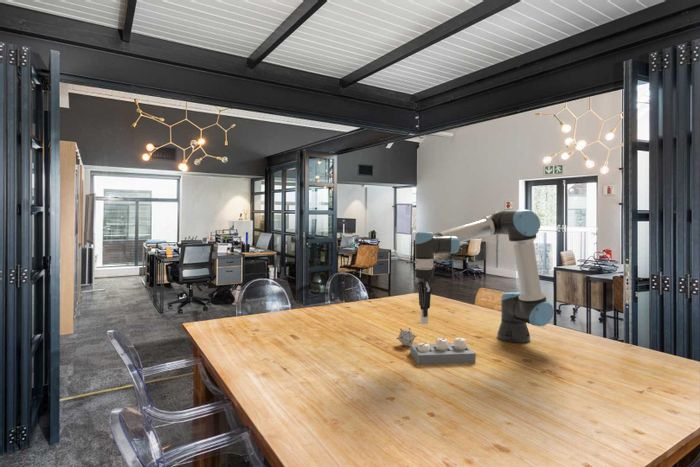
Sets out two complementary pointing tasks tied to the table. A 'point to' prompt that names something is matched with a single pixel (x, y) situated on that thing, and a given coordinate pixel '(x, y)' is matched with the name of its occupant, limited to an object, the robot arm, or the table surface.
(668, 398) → the table surface
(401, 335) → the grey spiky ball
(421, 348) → the button
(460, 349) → the button
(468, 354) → the button board
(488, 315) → the table surface
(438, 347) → the button
